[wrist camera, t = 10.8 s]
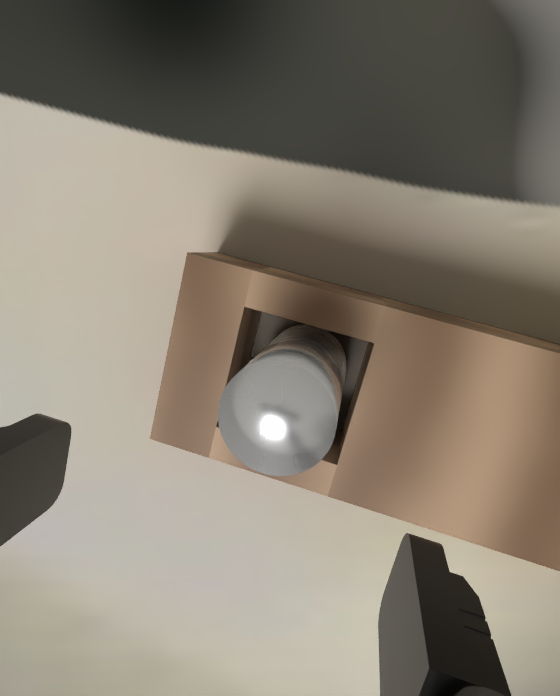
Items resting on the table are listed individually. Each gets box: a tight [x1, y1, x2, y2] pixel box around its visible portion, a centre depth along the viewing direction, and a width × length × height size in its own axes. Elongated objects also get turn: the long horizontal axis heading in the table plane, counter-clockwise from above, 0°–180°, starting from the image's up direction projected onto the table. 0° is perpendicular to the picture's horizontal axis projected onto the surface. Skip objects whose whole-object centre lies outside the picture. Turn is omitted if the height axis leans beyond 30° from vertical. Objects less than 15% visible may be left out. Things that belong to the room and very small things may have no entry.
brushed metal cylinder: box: [218, 325, 347, 476], centre depth 20 cm, size 4×4×8 cm
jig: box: [150, 252, 560, 571], centre depth 21 cm, size 25×8×4 cm, turn 76°
